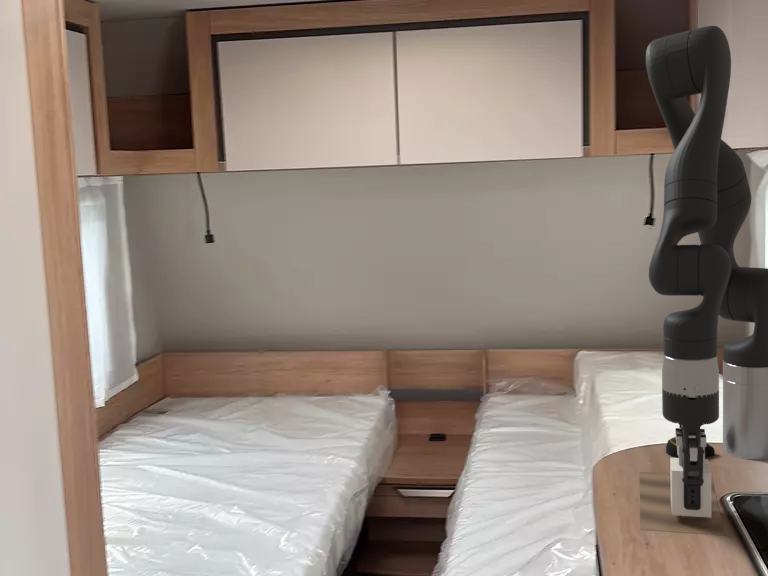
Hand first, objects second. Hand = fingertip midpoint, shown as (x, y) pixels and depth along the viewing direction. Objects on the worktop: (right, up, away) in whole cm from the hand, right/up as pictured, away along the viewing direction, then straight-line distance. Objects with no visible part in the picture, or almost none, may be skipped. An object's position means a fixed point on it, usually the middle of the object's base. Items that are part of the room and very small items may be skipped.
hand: (691, 500), depth 119 cm
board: (0, -3, +6) cm, 6 cm away
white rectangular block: (0, -1, 0) cm, 1 cm away
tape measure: (+9, 0, +26) cm, 27 cm away
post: (0, -2, 0) cm, 2 cm away
